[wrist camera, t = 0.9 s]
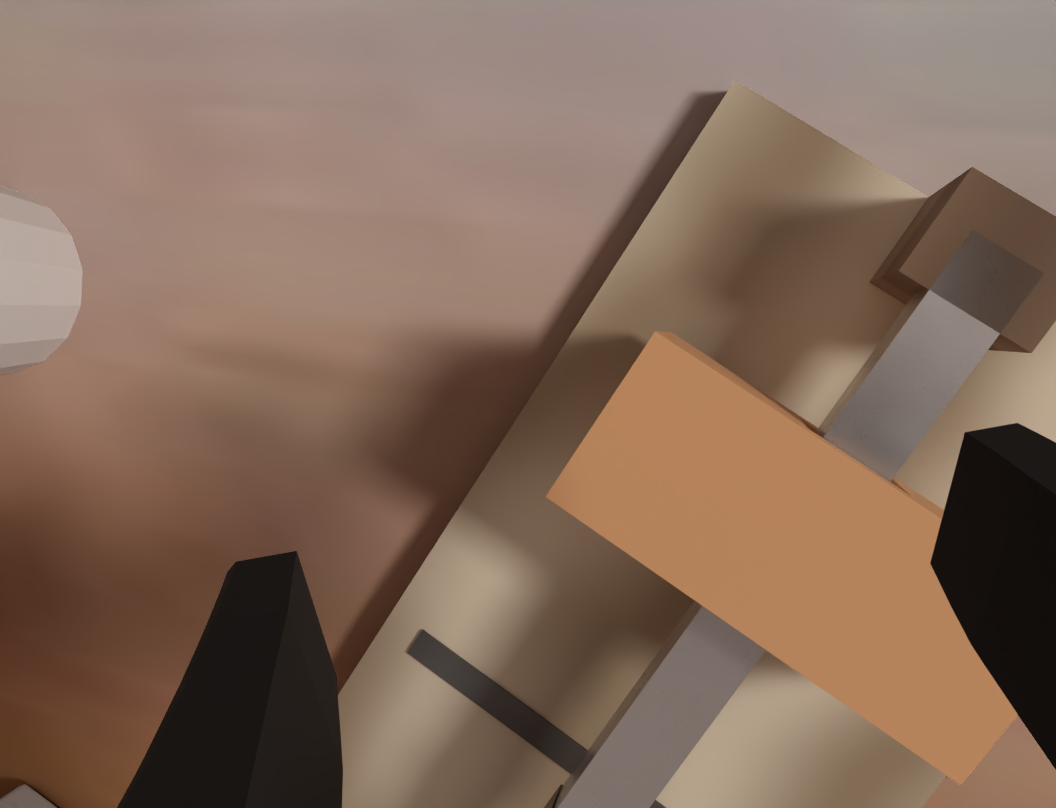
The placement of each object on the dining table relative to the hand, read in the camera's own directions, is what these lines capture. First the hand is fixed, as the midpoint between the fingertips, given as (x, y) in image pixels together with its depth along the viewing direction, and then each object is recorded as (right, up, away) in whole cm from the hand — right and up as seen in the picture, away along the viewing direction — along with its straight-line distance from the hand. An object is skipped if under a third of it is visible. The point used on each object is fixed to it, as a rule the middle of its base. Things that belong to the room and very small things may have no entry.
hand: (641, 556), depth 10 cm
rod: (+3, -4, +12) cm, 13 cm away
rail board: (+3, -4, +16) cm, 16 cm away
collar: (+5, -1, +13) cm, 14 cm away
